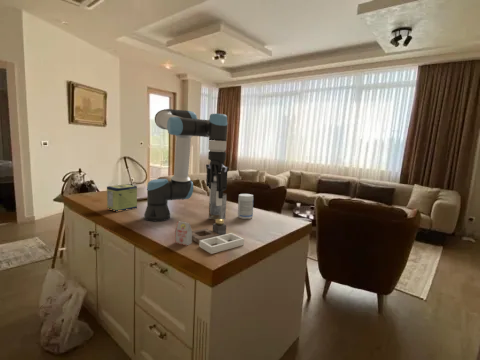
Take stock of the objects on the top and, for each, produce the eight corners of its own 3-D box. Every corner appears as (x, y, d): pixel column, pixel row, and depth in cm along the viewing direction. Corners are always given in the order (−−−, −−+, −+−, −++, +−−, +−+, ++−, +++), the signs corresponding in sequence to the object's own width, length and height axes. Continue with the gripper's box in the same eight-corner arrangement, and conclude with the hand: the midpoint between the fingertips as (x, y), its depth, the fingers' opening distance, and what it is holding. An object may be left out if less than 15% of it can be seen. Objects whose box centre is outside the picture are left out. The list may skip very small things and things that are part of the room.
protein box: (137, 208, 182) (137, 185, 180) (116, 212, 169) (115, 188, 167) (127, 205, 187) (127, 183, 185) (106, 209, 174) (106, 186, 172)
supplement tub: (255, 218, 171) (256, 195, 169) (243, 220, 165) (244, 197, 163) (246, 214, 179) (247, 193, 177) (234, 216, 173) (235, 194, 171)
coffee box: (208, 218, 165) (208, 193, 163) (213, 216, 171) (214, 191, 169) (221, 221, 162) (222, 195, 159) (226, 218, 167) (227, 193, 165)
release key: (213, 231, 139) (213, 219, 138) (220, 229, 142) (220, 218, 141) (218, 233, 136) (218, 221, 135) (225, 232, 139) (225, 220, 138)
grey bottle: (208, 213, 118) (209, 175, 116) (216, 212, 121) (217, 174, 119) (213, 215, 115) (215, 176, 113) (222, 214, 118) (223, 176, 116)
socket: (186, 236, 134) (186, 226, 133) (216, 229, 145) (216, 220, 145) (198, 243, 124) (199, 233, 124) (230, 236, 136) (230, 226, 136)
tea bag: (180, 240, 128) (180, 220, 126) (191, 243, 125) (192, 222, 123) (175, 242, 124) (175, 222, 123) (186, 245, 122) (187, 224, 120)
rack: (199, 246, 121) (199, 240, 120) (231, 238, 133) (231, 232, 132) (211, 253, 114) (211, 247, 113) (243, 244, 126) (244, 238, 125)
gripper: (237, 152, 110) (234, 207, 113) (213, 150, 123) (211, 199, 127) (222, 152, 105) (220, 209, 109) (198, 149, 119) (197, 201, 122)
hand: (215, 204), depth 118 cm, fingers closed on grey bottle, 4 cm apart
